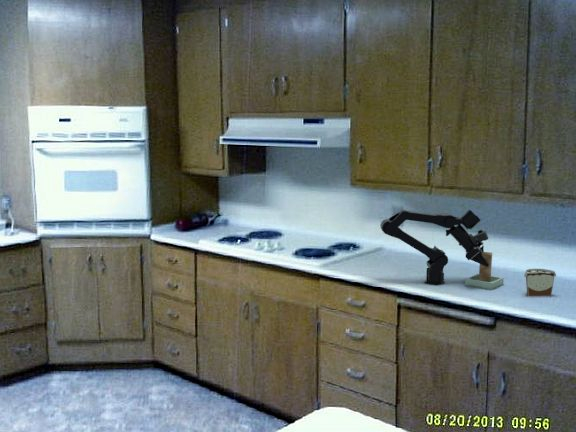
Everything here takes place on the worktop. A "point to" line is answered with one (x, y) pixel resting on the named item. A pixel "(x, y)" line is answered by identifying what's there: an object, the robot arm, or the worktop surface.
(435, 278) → the robot arm
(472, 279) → the tray
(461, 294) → the worktop surface
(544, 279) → the food container
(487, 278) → the walnut post
